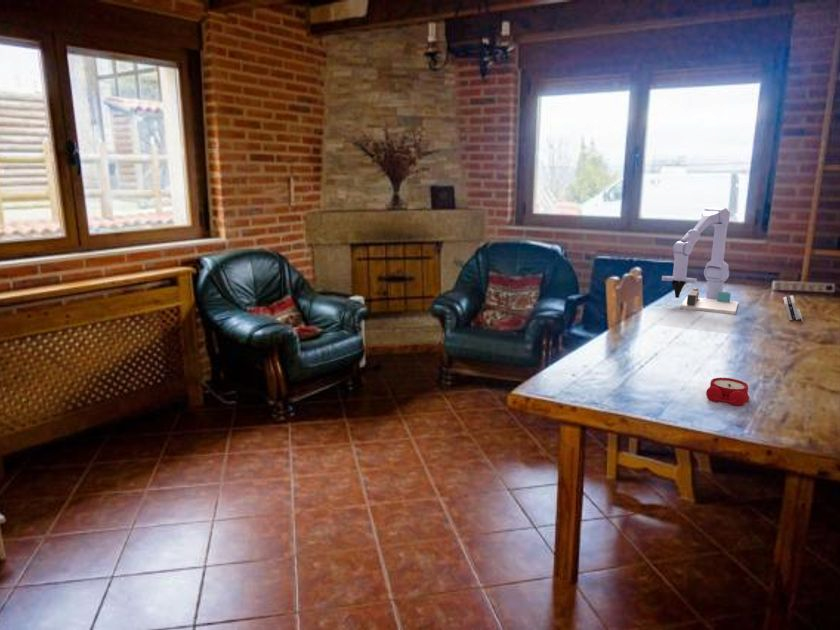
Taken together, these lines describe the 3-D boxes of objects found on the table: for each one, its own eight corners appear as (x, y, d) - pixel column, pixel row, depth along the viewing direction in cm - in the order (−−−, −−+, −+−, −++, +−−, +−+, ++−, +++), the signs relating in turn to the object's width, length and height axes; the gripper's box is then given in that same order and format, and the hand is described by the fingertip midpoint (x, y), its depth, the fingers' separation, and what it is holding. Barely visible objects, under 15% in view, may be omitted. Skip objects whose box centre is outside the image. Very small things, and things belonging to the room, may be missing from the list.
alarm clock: (752, 381, 167) (749, 385, 154) (749, 403, 167) (745, 409, 155) (711, 374, 172) (705, 378, 160) (708, 396, 173) (701, 401, 160)
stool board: (686, 298, 289) (687, 288, 288) (738, 304, 279) (739, 293, 277) (680, 308, 270) (681, 296, 269) (735, 314, 259) (736, 302, 258)
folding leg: (691, 297, 284) (692, 288, 283) (698, 298, 282) (699, 288, 281) (686, 304, 270) (687, 294, 269) (694, 305, 268) (695, 294, 267)
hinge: (803, 322, 247) (797, 298, 246) (790, 324, 249) (783, 301, 249) (800, 313, 261) (795, 291, 260) (788, 316, 264) (782, 294, 263)
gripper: (661, 267, 273) (659, 297, 276) (696, 270, 266) (693, 300, 269) (664, 265, 279) (661, 294, 282) (698, 268, 272) (695, 297, 275)
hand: (677, 297), depth 276 cm, fingers closed
